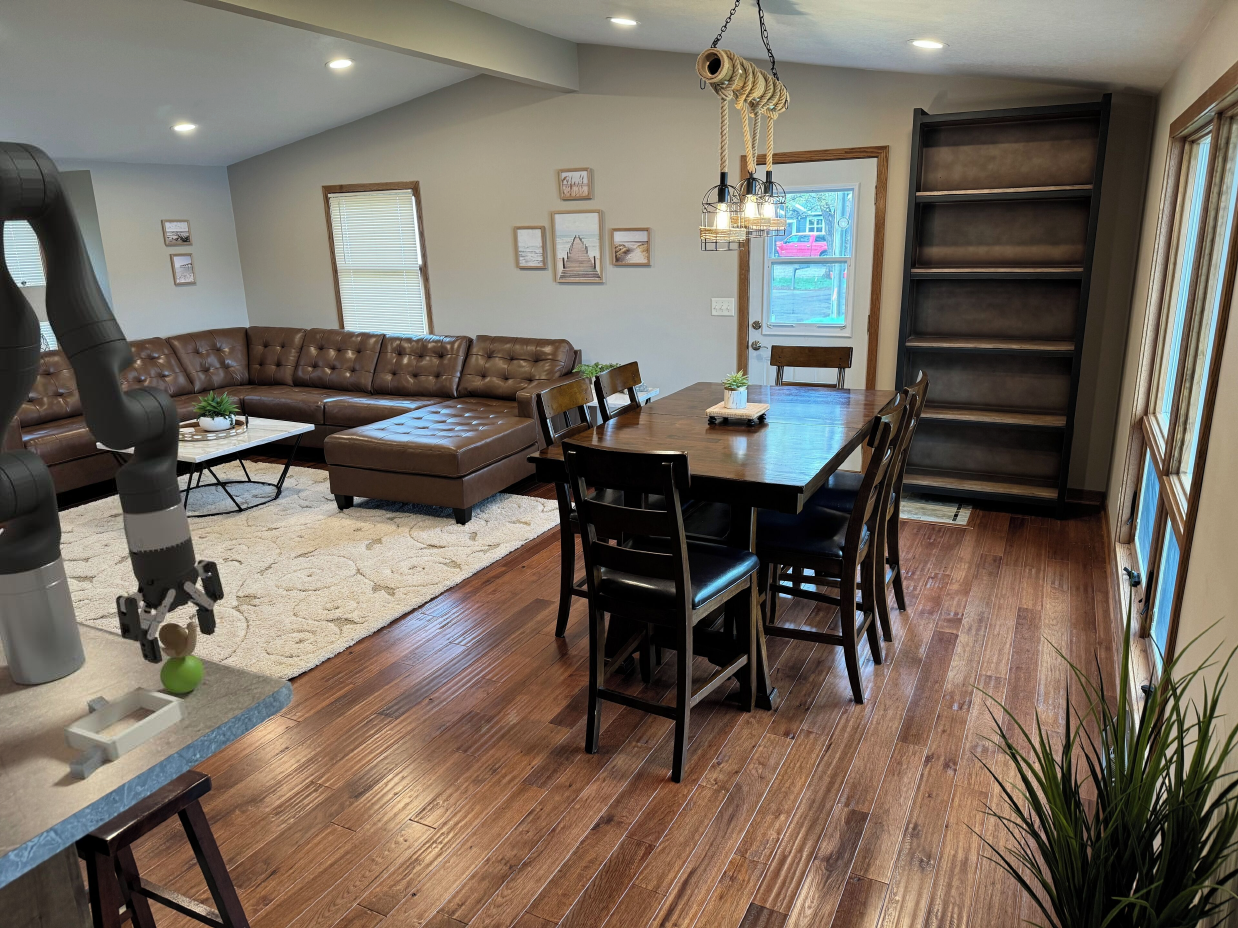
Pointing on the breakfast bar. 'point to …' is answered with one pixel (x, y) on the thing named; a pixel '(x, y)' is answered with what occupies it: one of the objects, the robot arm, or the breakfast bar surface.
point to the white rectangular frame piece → (112, 749)
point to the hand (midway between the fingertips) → (182, 647)
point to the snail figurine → (180, 657)
